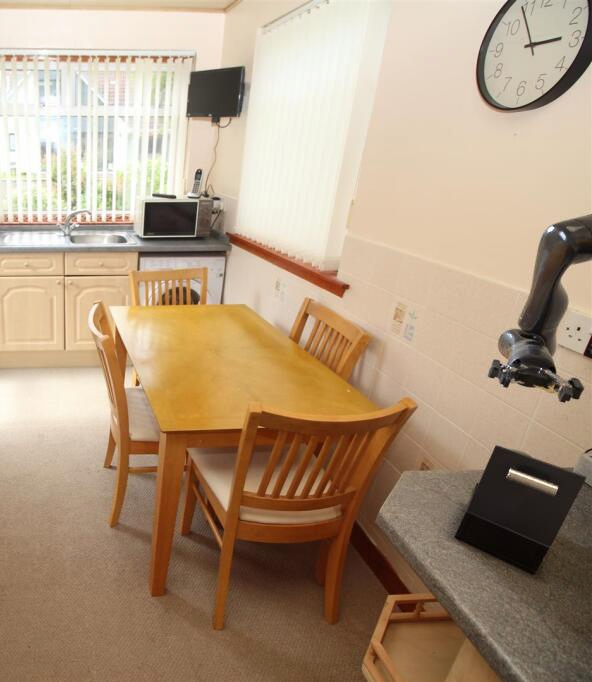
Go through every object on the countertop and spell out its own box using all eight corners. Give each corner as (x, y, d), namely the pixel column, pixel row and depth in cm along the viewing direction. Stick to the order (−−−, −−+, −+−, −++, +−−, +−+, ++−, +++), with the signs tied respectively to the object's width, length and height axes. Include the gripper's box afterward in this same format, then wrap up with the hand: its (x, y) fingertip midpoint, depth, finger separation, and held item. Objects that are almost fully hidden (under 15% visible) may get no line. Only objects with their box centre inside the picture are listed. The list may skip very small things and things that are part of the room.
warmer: (465, 506, 90) (476, 482, 88) (539, 538, 84) (553, 512, 81) (454, 537, 83) (465, 511, 81) (534, 575, 76) (549, 548, 74)
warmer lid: (495, 444, 77) (493, 453, 73) (586, 476, 70) (588, 487, 67) (467, 508, 81) (463, 520, 77) (550, 544, 74) (550, 559, 70)
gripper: (496, 340, 107) (496, 362, 96) (582, 359, 99) (594, 385, 88) (483, 370, 110) (482, 395, 99) (566, 390, 102) (576, 420, 90)
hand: (535, 390), depth 93 cm, fingers open, 8 cm apart
